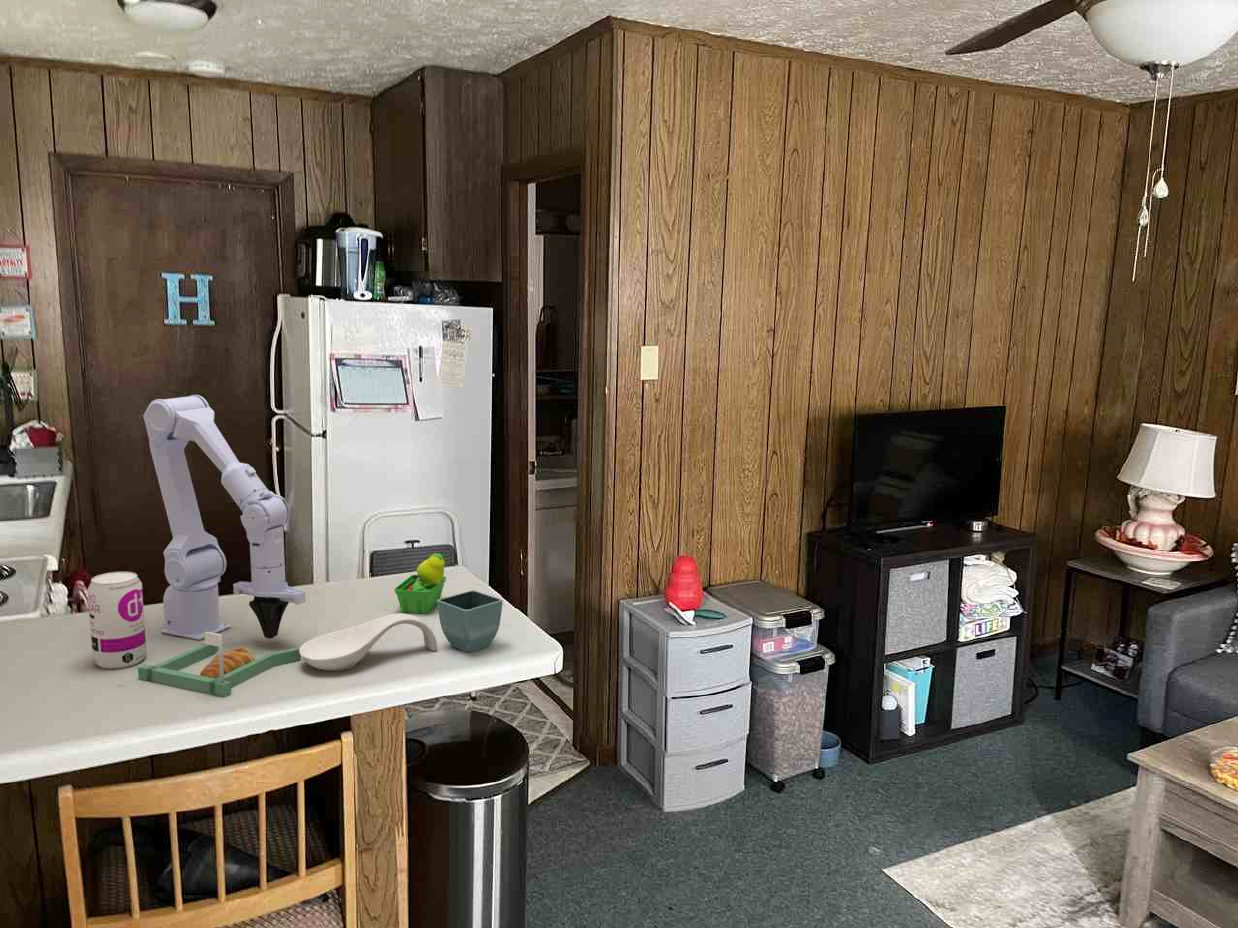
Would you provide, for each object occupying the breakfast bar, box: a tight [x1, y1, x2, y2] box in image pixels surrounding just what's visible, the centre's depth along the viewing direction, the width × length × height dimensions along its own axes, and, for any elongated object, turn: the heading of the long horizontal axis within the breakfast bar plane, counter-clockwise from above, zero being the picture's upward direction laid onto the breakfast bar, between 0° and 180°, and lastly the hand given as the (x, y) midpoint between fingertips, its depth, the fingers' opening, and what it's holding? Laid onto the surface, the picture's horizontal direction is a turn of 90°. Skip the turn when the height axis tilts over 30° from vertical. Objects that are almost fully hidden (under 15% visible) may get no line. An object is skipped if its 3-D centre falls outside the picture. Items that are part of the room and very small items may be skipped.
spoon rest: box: [299, 613, 438, 672], centre depth 173 cm, size 24×12×7 cm, turn 121°
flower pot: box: [436, 589, 504, 653], centre depth 179 cm, size 9×9×9 cm
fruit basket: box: [394, 553, 447, 614], centre depth 201 cm, size 11×9×11 cm
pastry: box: [199, 646, 257, 679], centre depth 164 cm, size 9×7×4 cm
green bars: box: [137, 632, 302, 698], centre depth 166 cm, size 19×18×10 cm
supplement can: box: [87, 571, 148, 670], centre depth 168 cm, size 8×8×15 cm
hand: (271, 636), depth 178 cm, fingers closed
